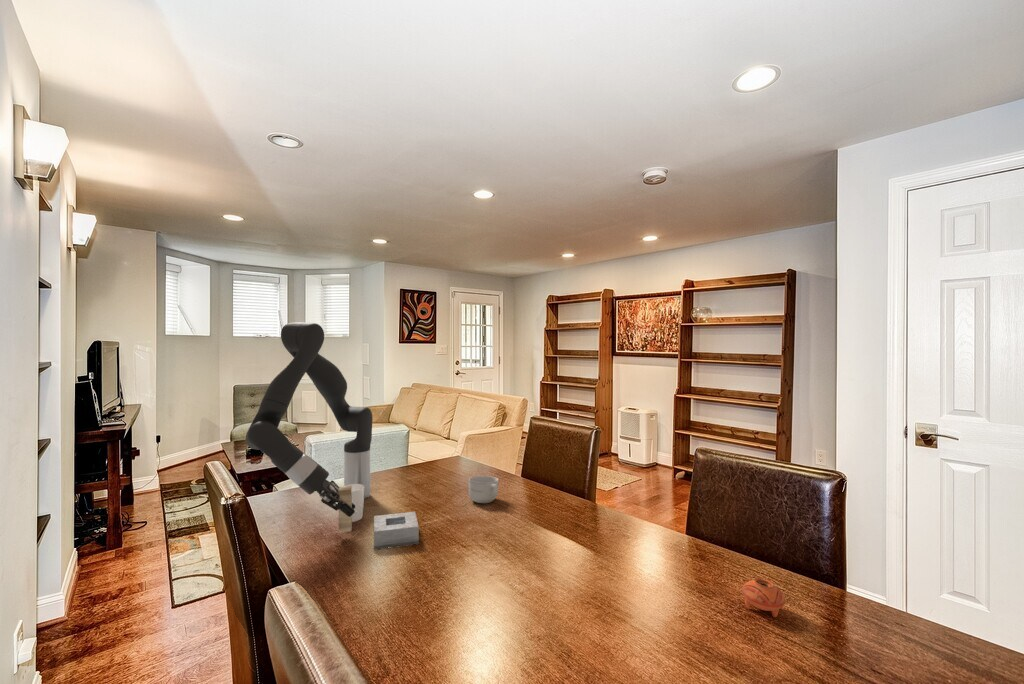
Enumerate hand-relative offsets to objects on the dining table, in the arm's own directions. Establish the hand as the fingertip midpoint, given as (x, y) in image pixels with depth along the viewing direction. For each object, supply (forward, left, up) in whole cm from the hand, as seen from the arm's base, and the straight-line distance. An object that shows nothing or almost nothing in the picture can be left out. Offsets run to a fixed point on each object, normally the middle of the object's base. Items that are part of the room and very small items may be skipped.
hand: (352, 511), depth 132 cm
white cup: (-16, -1, -8) cm, 18 cm away
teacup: (-18, +44, -8) cm, 48 cm away
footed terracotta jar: (+64, +84, -8) cm, 106 cm away
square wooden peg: (0, -2, -5) cm, 5 cm away
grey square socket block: (+4, +12, -8) cm, 15 cm away
